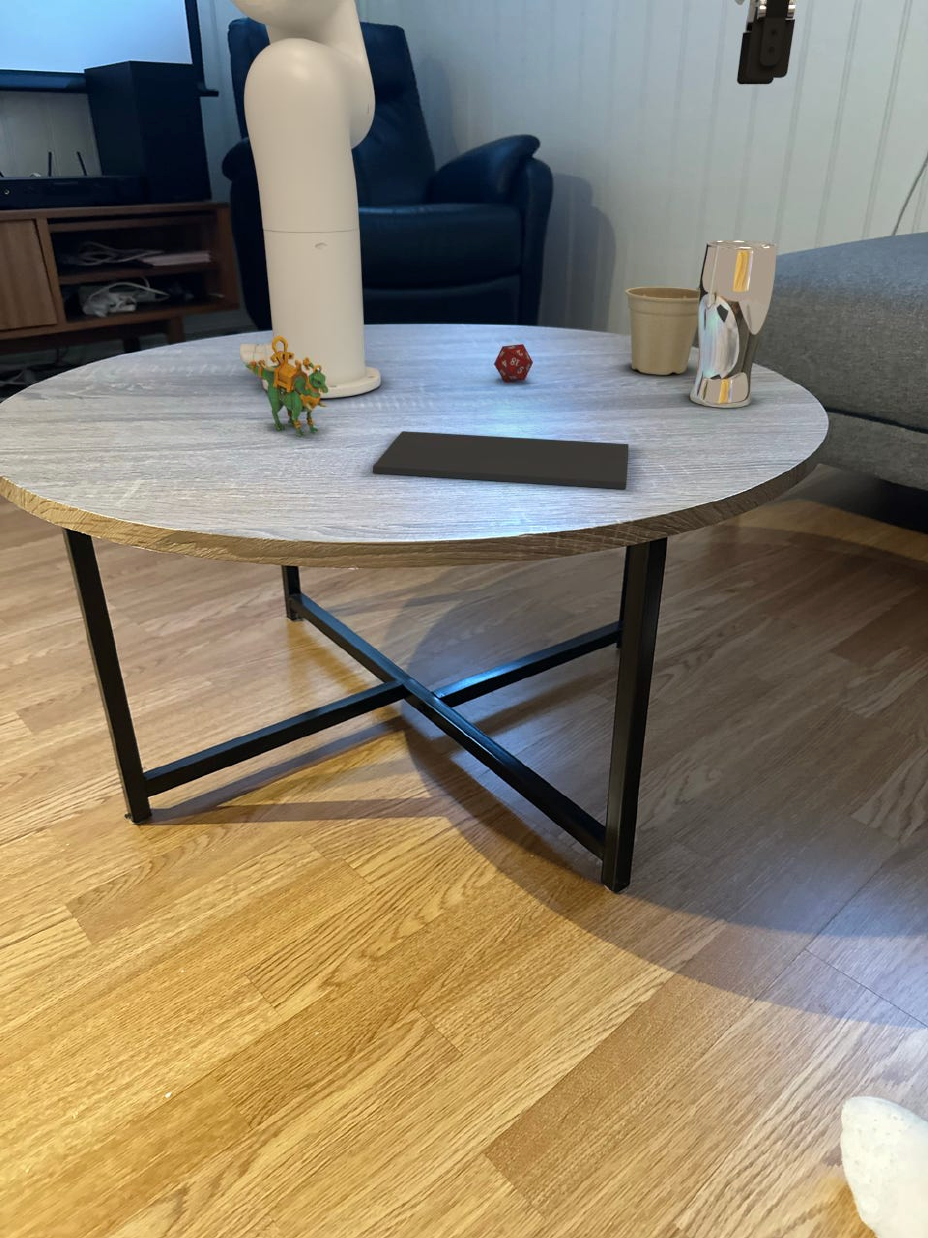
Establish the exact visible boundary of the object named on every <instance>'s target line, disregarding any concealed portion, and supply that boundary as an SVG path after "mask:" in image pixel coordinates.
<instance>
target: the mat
mask: <svg viewBox="0 0 928 1238" xmlns="http://www.w3.org/2000/svg"><path fill="white" fill-rule="evenodd" d="M629 447H630V446H629V443H619V442H618V443H615V442H601V441H600V442H599V441H583V440H581V441H580V440H566V439H546V438H530V437H529V438H528V437H514V436H513V437H511V436H494V435H476V434H460V433H459V434H458V433H443V432H442V433H441V432H426V431H425V432H424V431H423V432H422V431H407V430H402V431H401V432H400V433H399V435H398V436H397V437H396V438H395V439H394V440H393V441H392V443H391V444H390V445H389V446H388V447H387V448H386V450H385V451H384V452H383V454H382V455H381V456H380V457H379V458H378V459H377V461H375V463H374V464H373V465H372V472H373V474H384V475H385V474H386V475H400V476H401V475H402V476H414V477H415V476H416V477H428V478H429V477H431V478H445V479H459V480H460V479H461V480H462V479H463V480H475V481H476V480H477V481H494V482H508V483H509V482H510V483H523V484H536V485H537V484H538V485H553V486H555V485H556V486H571V487H584V488H585V487H586V488H598V489H599V488H601V489H614V490H615V489H616V490H617V489H618V490H626V489H627V481H628V480H627V478H628V462H629Z"/></svg>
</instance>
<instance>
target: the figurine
mask: <svg viewBox="0 0 928 1238" xmlns="http://www.w3.org/2000/svg"><path fill="white" fill-rule="evenodd" d="M271 341H272V349H273V350H274V352H275V354H273V355H272V356H271V357H270V359H271V361H272V362H273V363H276V362H277V361H278V362H277V365H275V366H270V367H268V366H265V361H264V360H260V361H258V364H257V363H256V361H250V364H244V366H245V367H246V368H247V369H248V370H249V371H250V372H251V373H253V374H254V375H257V376H258V377H259V378H260V379H261V380H262V379H263V380H266V381H267V383H268V389H267V390H266V394H267V397H268V398H267V399H268V402H269V404H270V407H271V414H272V418H273V420H274V423H275V424H274V427H276V429H277V431H281V430H284V429H286V428H287V425H285V424H284V425H283V424H282V422H281V421H280V418H279V415H278V413H279V412H280V411H281V410H283V408H284V407H285V410H286V411H287V414H288V417H289V418H288V422H287V424H289V425H291V426H292V427H295V429H296V431H297V434H298V436H299V437H301V436H302V435H303V436H306V435H307V433H306V432H303V431H302V429H301V427H302V424H301V421H300V420H299V416H300V415H301V413H306V418H305V419H306V421H307V422H306V424H307V425H308V427H309V430H310V431H311V432H312V433H317V432H319V431H320V429H318V428H315V427H314V420H313V417H312V416H311V415H312V412H313V411H314V410H315V409H316V407H317V406H319V407H321V408H328V407H329V405H327V404H325V403H324V402H322V401H321V399H322V398H321V393H319V389H320V392H322V393H327V392H328V388H327V386H326V384H325V379H326V376H325V375H323V374H322V373H321V370H322V368H321V366H320V365H316V366H314V365H313V364H312V362H310V361H309V358H308V357H305V359H303V365H304V366H305V369H306V370H310V368H309V367H311V368H312V369H313V373H312V374H310V375H309V376H307V374H306V373H305V372H304V371H302V366H301V364H302V363H300V362H299V361H298V360H295V365H296V368H295V367H294V366H292V365H290V364H289V363H288V362H289V359H290V360H291V359H293V357H294V354H293V353H291V352H287V348H288V343H287V341H286V340H285V338H283V337H281V336H277V337H275V338H274V339H273V338H272V340H271ZM278 341H281V342H282V343H283V344H284V351H278V352H277V349H276V343H277V342H278ZM281 354H283V355H282V357H281ZM275 358H276V359H277V360H276V359H275ZM251 364H252V365H251ZM308 366H309V367H308ZM317 367H319V371H318V370H317Z"/></svg>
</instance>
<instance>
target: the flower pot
mask: <svg viewBox="0 0 928 1238" xmlns="http://www.w3.org/2000/svg"><path fill="white" fill-rule="evenodd" d="M698 292H699V289H694V288H689V287H688V288H687V287H677V286H676V287H675V286H638V287H631V288H628V289H625V290H624V294H625V296H627V307H628V308H629V315H630V316H629V317H630V336H631V337H630V340H631V341H630V344H631V345H630V346H631V347H630V349H631V369H632V370H637V371H639V372H640V373H643V374H646V375H657V376H668V375H670V374H672V373H674V374H677V375H680V374H683V373H685V372H686V370H687V367H688V363H689V358H690V355H691V352H692V347H693V344H694V339H695V337H696V332H697V330H698Z"/></svg>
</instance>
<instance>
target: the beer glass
mask: <svg viewBox="0 0 928 1238" xmlns="http://www.w3.org/2000/svg"><path fill="white" fill-rule="evenodd" d="M777 252H778V244H777V243H774V242H769V241H768V242H767V241H758V240H743V239H742V240H741V239H737V240H735V239H733V240H732V239H729V240H728V239H725V240H723V239H722V240H721V239H719V240H712V241H711V240H710V241H707V242H706V247H705V252H704V257H703V260H702V261H703V262H702V267H701V273H700V277H699V283H698V290H699V292H698V325H697V337H698V361H697V362H698V363H697V369H696V372H695V373H696V374H695V378H694V381H693V384H692V388H691V390H690V395H689V399H690V401H692V402H693V403H694V404H697V405H701V406H705V407H710V408H720V409H722V408H723V409H734V408H735V409H736V408H742V407H747V406H748V405H750V404H751V402H752V370H753V365H754V359H755V355H756V352H757V348H758V346H759V344H760V341H761V340H760V339H761V337H762V334H763V332H764V328H765V324H766V321H767V318H768V314H769V312H770V307H771V303H772V297H773V292H774V287H775V286H774V285H775V276H776V266H777V265H776V264H777V254H778V253H777Z"/></svg>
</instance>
